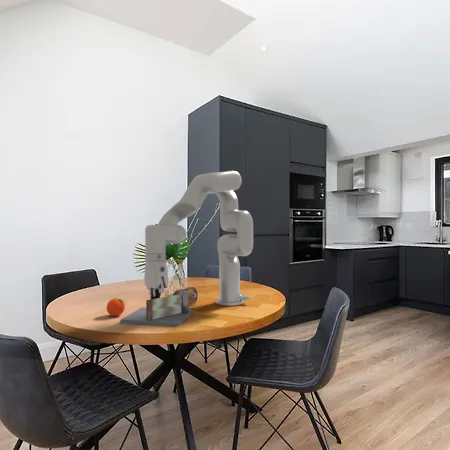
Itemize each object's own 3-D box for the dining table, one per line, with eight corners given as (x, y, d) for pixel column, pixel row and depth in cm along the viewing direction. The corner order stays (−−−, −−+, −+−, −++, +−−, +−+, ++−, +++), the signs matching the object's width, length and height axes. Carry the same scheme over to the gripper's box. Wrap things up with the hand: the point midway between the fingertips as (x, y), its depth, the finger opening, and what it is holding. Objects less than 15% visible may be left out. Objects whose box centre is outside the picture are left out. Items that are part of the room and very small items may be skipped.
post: (189, 314, 132) (189, 290, 132) (187, 316, 129) (187, 292, 129) (181, 314, 133) (182, 290, 133) (179, 316, 130) (179, 292, 130)
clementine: (130, 314, 133) (130, 296, 133) (122, 318, 127) (122, 300, 127) (112, 313, 135) (112, 295, 135) (103, 317, 128) (103, 299, 128)
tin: (176, 311, 138) (176, 290, 138) (170, 310, 140) (170, 290, 140) (198, 304, 151) (198, 285, 151) (192, 303, 153) (192, 285, 153)
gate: (179, 312, 130) (179, 294, 130) (181, 312, 129) (181, 294, 129) (146, 319, 119) (146, 300, 119) (148, 320, 118) (148, 300, 118)
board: (192, 312, 136) (192, 309, 136) (178, 326, 117) (178, 322, 117) (142, 310, 139) (142, 307, 139) (120, 323, 121) (120, 319, 121)
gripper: (174, 258, 122) (174, 308, 122) (154, 255, 133) (153, 301, 133) (156, 259, 117) (156, 312, 117) (136, 256, 128) (136, 304, 128)
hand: (155, 306), depth 125 cm, fingers closed
